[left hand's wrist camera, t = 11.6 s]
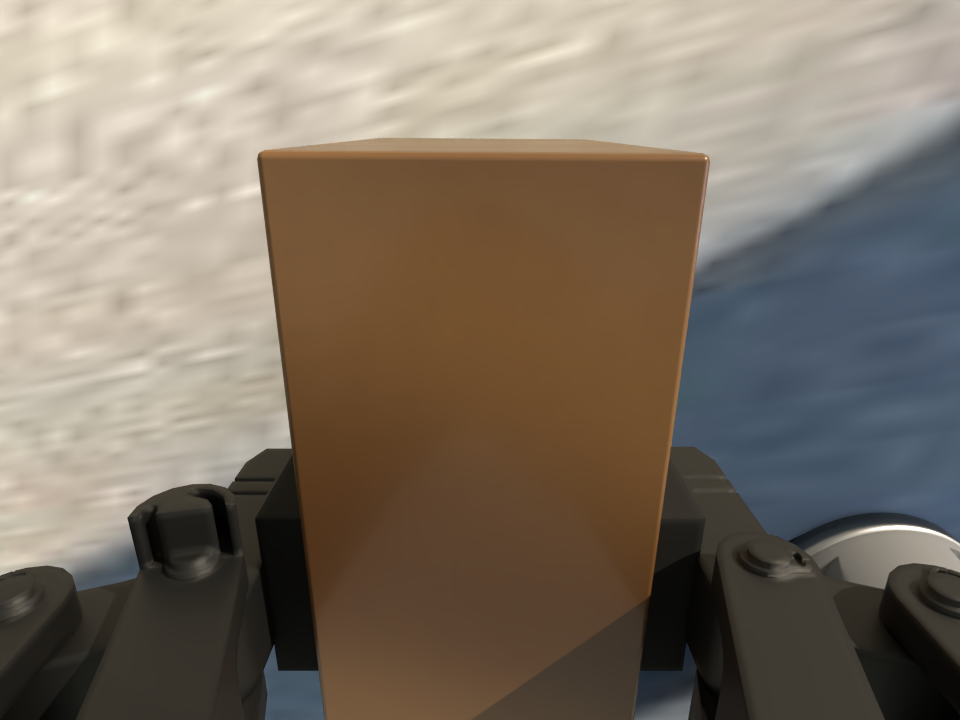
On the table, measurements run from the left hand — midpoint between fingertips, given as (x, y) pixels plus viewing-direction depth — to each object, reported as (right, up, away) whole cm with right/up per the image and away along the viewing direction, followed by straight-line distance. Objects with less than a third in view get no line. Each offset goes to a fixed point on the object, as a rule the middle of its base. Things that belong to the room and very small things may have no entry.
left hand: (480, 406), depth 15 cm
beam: (0, -27, +11) cm, 30 cm away
